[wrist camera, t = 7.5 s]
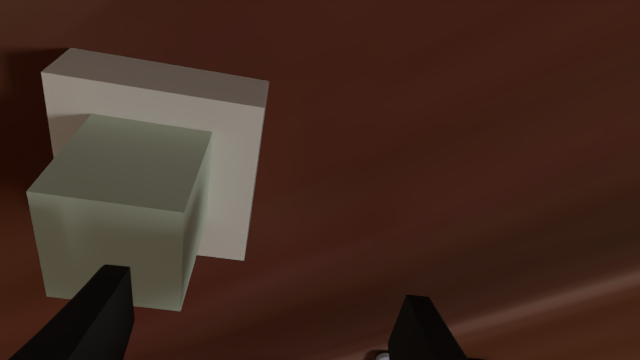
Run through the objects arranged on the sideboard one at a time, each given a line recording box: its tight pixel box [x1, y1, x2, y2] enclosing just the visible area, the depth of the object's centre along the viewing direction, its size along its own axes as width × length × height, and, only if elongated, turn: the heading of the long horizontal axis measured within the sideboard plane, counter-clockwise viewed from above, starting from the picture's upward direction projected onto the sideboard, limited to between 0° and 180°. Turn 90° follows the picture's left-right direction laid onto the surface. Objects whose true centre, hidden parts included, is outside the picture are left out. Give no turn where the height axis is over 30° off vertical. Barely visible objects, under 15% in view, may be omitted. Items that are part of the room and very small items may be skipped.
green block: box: [26, 114, 212, 311], centre depth 17 cm, size 4×4×5 cm
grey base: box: [41, 48, 269, 261], centre depth 21 cm, size 8×8×3 cm
